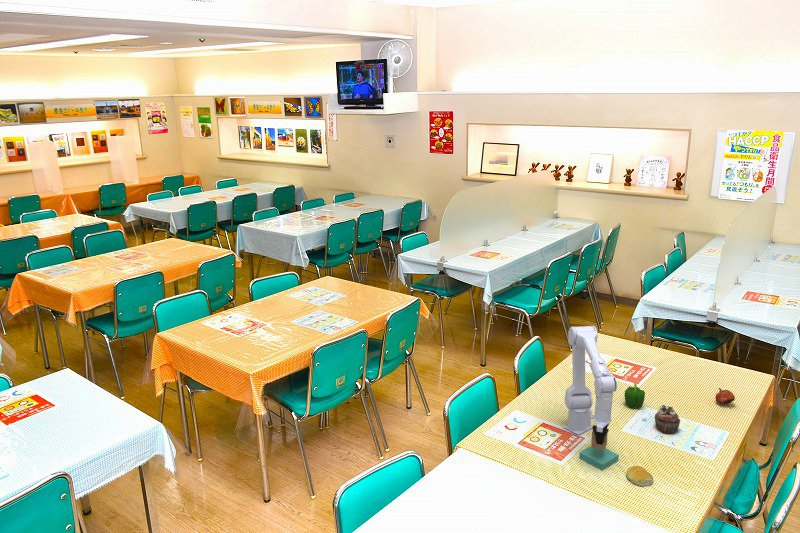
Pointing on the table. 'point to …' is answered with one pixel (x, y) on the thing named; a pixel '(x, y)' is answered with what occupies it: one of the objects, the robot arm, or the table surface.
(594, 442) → the walnut block
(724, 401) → the pomegranate
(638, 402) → the bell pepper
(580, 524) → the table surface
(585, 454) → the teal base
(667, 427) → the cupcake
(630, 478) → the bread roll
